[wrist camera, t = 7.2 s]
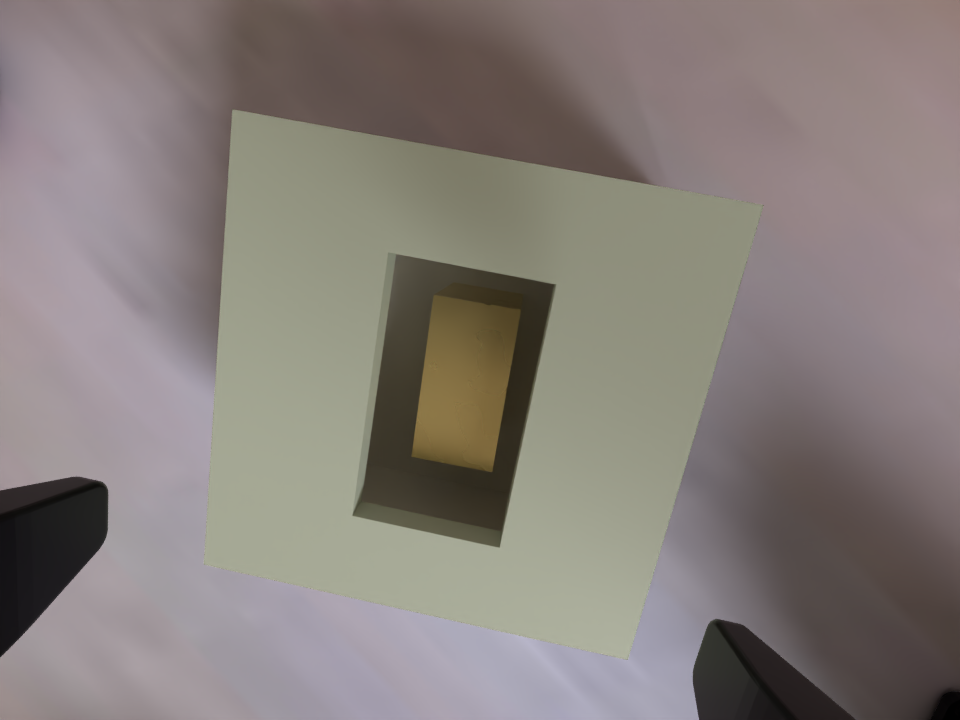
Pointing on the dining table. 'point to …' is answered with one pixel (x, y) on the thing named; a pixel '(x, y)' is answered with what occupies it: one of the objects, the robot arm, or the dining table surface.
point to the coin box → (399, 369)
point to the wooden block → (466, 375)
